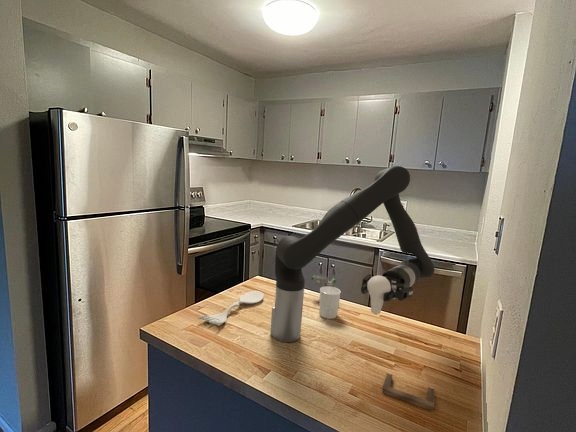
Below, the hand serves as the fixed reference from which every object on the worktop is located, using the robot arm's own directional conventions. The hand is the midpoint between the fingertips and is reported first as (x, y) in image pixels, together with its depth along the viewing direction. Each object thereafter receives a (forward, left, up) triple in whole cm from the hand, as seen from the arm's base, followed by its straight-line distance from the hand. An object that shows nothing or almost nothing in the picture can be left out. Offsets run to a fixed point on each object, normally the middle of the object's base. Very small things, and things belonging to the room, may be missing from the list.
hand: (373, 294), depth 82 cm
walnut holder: (+12, -1, -24) cm, 26 cm away
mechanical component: (-27, +40, -24) cm, 54 cm away
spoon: (-52, +12, -24) cm, 58 cm away
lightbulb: (+1, +2, -7) cm, 7 cm away
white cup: (-20, +28, -24) cm, 42 cm away
